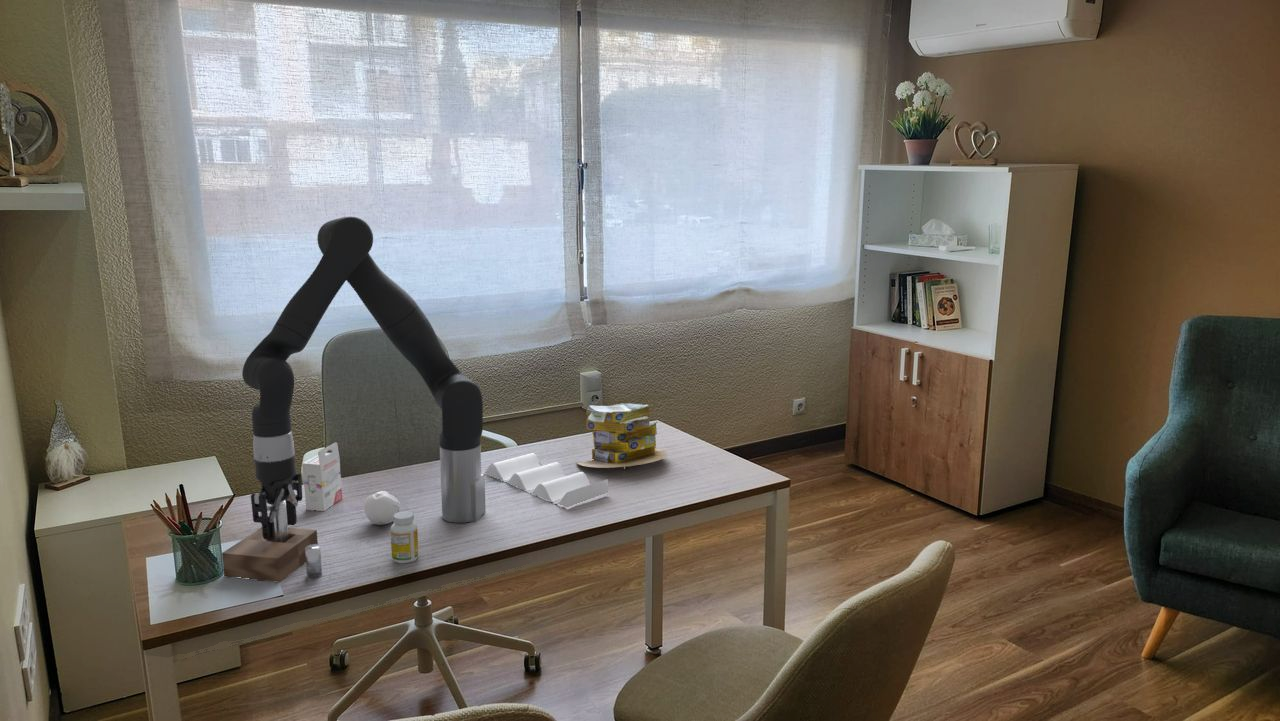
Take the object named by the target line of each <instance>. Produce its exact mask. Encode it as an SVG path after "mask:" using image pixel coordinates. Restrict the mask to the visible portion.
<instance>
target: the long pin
mask: <svg viewBox="0 0 1280 721" xmlns="http://www.w3.org/2000/svg"><path fill="white" fill-rule="evenodd" d="M270 506H273V505H271V504H270ZM273 521H274V527H275V538H274V542H283V543H285V542H286V541H288V540H289V536H288V528H289V527H288V526H289V525H288V523H287V510H286V499H285V500H283V501H282V502H280V505H279V510H278V511H277V512H275V516H274V520H273Z"/></svg>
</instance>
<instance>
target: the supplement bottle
mask: <svg viewBox="0 0 1280 721" xmlns="http://www.w3.org/2000/svg"><path fill="white" fill-rule="evenodd" d="M414 520H415V517H414V513H413V512H411V511H409V510H408V511H407V510H405V511H404V510H403V511H402V510H401V511H399V512H397V513H395V514H394V516H393V521H392V522H393V524H392V525H391V526H390V545H391V546H390V547H391V548H390V549H391V560H392V561H393V562H394V563H396V562H397V563H396V564H409V562H410V563H412V562H414V561H416V560H417V559H418V557H419V537H418V532H419V531H418V524H417V523H416V522H414Z"/></svg>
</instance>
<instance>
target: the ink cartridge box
mask: <svg viewBox="0 0 1280 721" xmlns="http://www.w3.org/2000/svg"><path fill="white" fill-rule="evenodd" d="M338 446H339V445H338V442H336V441H335V442H333V443H332V444H329V445H328V446H326V447H324V448H323V449H321V450H319V451H318V452H317V455H315V456H313V457H312V458H311V457H310V459H308V460H306V461H304V462H302V463H301V466H302V475H303V487H304V499H305V510H306V509H307V510H306V511H314V510H316V511H317V512H325V511H327V510H329V507H330V508H331V507H333V506H334V505H335V504H337V503H339V501H341V500H342V499H343V492H342V491H343V490H342V486H343V485H342V474H341V461H340V454H339V447H338ZM329 451H331V452H329ZM316 511H315V512H316Z"/></svg>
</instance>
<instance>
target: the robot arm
mask: <svg viewBox="0 0 1280 721" xmlns="http://www.w3.org/2000/svg"><path fill="white" fill-rule="evenodd" d="M316 237H317V239H316V240H317V246H318V248H319V251H320V253H321V254H322V256H321V258H320V260H319V262H318V264H317V266H316V267H315V269H314V270H313V271H312V273H311V274H310V276H309V277H308V278H307V279H306V280H305V281H304V283H303V284H302V286H300V288H299V289H298V290H297V291H296V292H295V294H293V296H292V297H291V299H290V300H289V301H288V303H287V304H286V305H285V307H284V308H283V311H282V312H281V314H280V315H279V317H278V319H277V321H276V322H275V324H274V325H273V327H272V329H271V331H270V332H269V333H268V334H267V335H266V336H265V337H264V338H263V339H262V340H261V341H260V342H259V343H258V344H257V346H256V347H255V348H254V349H253V350H252V351H251V352H250V354H249V355H248V356H247V358H246V360H245V362H244V364H243V367H242V380H243V381H244V383H245V384H246V385H247V386H248V387H250V388H251V389H254V390H258V391H259V403H258V404H255V405H254V406H253V408H252V410H251V423H252V424H251V425H252V433H253V439H252V440H253V441H252V448H253V450H252V451H253V462H254V471H255V472H254V473H255V478H256V480H258V481H259V482H260V484H261V486H260V491H259V492H258V493H253V492H252V493H251V495H250V502H251V511H252V520H253V522H254V523H260V524H261V527H262V533H263V538H264V539H265V540H273V539H274V538H275V527H274V521H273V520H274V516H275V512H277V511H278V510H279V505H280V502H282V501H283V500H285V499H286V510H287V523H288V526H296V524H297V522H298V521H297V519H298V518H297V507H298V505H299V504H298V503H299V502H301V501H302V500H303V487H302V486H303V483H302V474H301V473H300V472H297V468H296V465H297V464H296V455H295V454H296V453H295V443H294V437H293V432H292V431H293V430H292V423H291V422H292V421H291V418H292V417H291V413H290V412H291V411H290V410H291V406H292V402H293V396H294V391H295V374H294V371H293V369H292V368H293V367H292V366H291V365H290V364H289V362H288V361H287V360H288V359H289V358H290V356H292V355H293V354H297V353H300V352H302V351H303V350H304V349H305V347H306V346H307V344H308V342H309V341H310V340H311V338H312V336H313V334H314V333H315V331H316V329H317V327H318V325H319V323H320V322H321V320H322V318H323V317H324V315H325V313H326V311H327V310H328V308H329V306H330V305H331V304H332V302H333V300H334V299H335V297H336V295H338V292H339V291H340V289H342V287H343V286H344V284H345V282H346V281H347V283H348V284H349V285H350V286H351V287H352V289H353V290H354V291H355V293H356V294H357V296H358V297H359V299H360V300H361V302H362V304H363V305H364V306H365V308H366V309H367V310H368V312H369V313H370V314H371V316H372V317H373V319H374V320H375V321H376V323H377V324H378V326H379V327H380V329H381V330H382V331H383V333H384V334H385V335H386V337H387V338H388V339H389V341H390V342H391V343H392V345H393V346H394V347H395V348H396V349H397V351H399V353H401V355H402V356H403V357H404V358H405V359H406V360H407V361H408V362H409V363H410V364H411V365H412V366H413V367H414V368H415V369H416V370H417V373H419V375H420V377H421V378H422V379H423V382H424V383H425V384H426V386H427V388H428V390H429V391H430V393H431V394H432V395H431V396H432V397H433V398H434V400H435V403H436V404H437V406H438V407H439V408H440V409H441V419H442V420H441V422H442V423H441V426H442V428H441V429H442V430H441V433H440V434H439V438H438V440H439V461H440V462H439V466H440V491H441V493H440V494H441V495H440V496H441V515H442V516H441V517H442V519H443V520H444V521H446V522H448V523H449V522H450V523H456V524H457V523H458V524H462V523H470V522H475V523H476V522H478V521H479V520H480V519H481V517H482V516H483V515H484V514H485V513H486V477H485V476H486V474H485V473H482V449H481V448H482V447H481V445H482V444H481V442H482V441H481V440H482V439H481V438H482V435H483V428H484V426H483V425H484V418H483V417H484V403H483V402H484V401H483V394H482V391H481V389H480V387H479V385H477V383H476V382H474V381H473V380H471V379H470V378H468V376H466V375H465V374H464V373H463V372H462V371H461V370H460V369H459V368H458V367H457V365H456V364H455V362H453V361H452V360H451V358H449V356H448V355H447V353H446V352H445V350H444V348H443V347H442V345H441V342H440V340H439V339H438V336H437V334H436V331H435V330H434V328H433V326H432V323H431V322H430V320H429V319H428V318H427V316H426V314H425V313H424V312H423V310H422V308H420V305H418V303H417V302H416V301H415V299H413V297H412V296H411V295H410V294H409V293H408V292H407V291H406V290H405V289H404V288H402V287H401V286H400V285H399V284H398V283H397V282H395V281H394V280H393V279H392V278H391V277H389V275H387V274H386V273H385V272H384V271H383V270H382V269H381V268H380V267H379V266H378V265H377V263H376V262H375V260H374V259H373V257H372V256H371V255H370V251H371V250H372V248H373V245H374V234H373V231H372V229H371V227H370V225H369V224H368V223H367V222H366V221H365V220H364V219H362V218H360V217H357V216H342V217H339V218H335V219H332V220H331V219H330V220H329V221H327V222H325V223H324V224H322V225H321V226H320V228H319V230H318V233H317V236H316ZM294 491H296V492H294ZM267 504H268V505H267ZM271 505H273V506H271ZM268 512H269V513H268Z"/></svg>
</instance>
